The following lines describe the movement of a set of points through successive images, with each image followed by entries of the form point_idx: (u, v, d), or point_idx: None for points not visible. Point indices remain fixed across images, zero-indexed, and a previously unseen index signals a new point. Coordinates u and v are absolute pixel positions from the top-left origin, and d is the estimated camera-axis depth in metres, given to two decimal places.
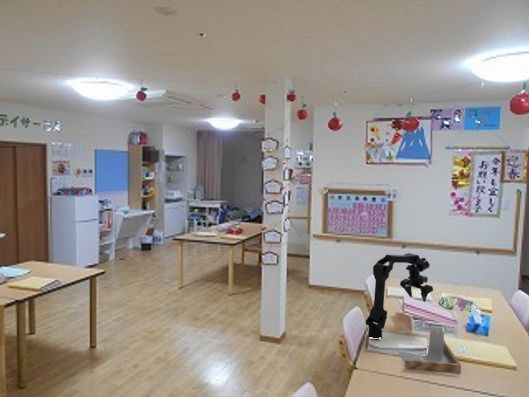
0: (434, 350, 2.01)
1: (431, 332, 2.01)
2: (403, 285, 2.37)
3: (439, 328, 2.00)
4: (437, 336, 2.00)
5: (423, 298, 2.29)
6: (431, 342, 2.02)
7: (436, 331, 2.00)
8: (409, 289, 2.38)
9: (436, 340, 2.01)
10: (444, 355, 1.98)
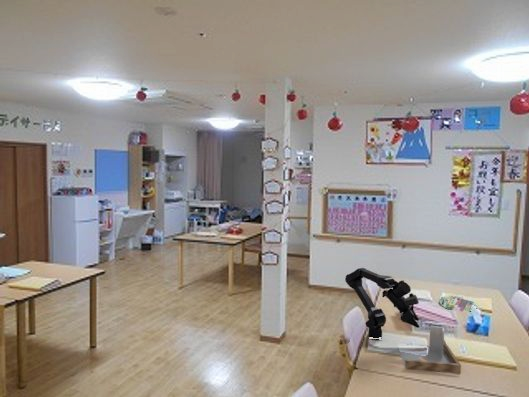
0: (434, 350, 2.01)
1: (431, 332, 2.01)
2: None
3: (439, 328, 2.00)
4: (437, 336, 2.00)
5: (411, 324, 2.00)
6: (431, 342, 2.02)
7: (436, 331, 2.00)
8: None
9: (436, 340, 2.01)
10: (444, 355, 1.98)
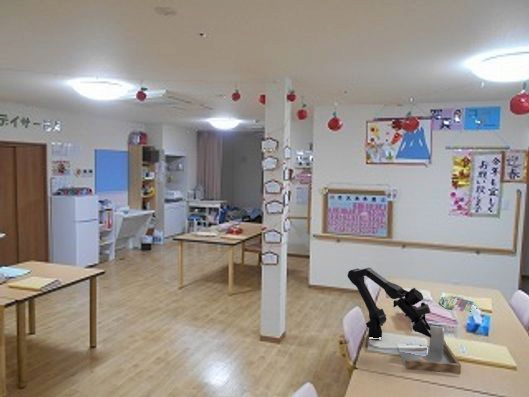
0: (434, 350, 2.01)
1: (431, 332, 2.01)
2: None
3: (439, 328, 2.00)
4: (437, 336, 2.00)
5: (423, 334, 1.97)
6: (431, 342, 2.02)
7: (436, 331, 2.00)
8: None
9: (436, 340, 2.01)
10: (444, 355, 1.98)
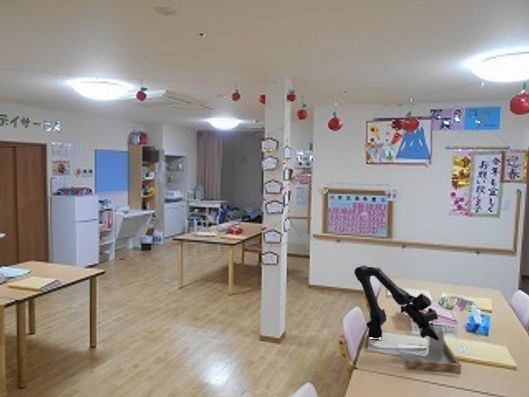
0: (434, 350, 2.01)
1: None
2: None
3: (439, 328, 2.00)
4: (437, 336, 2.00)
5: (431, 337, 2.00)
6: (431, 342, 2.02)
7: (436, 331, 2.01)
8: None
9: (436, 340, 2.01)
10: (444, 355, 1.98)
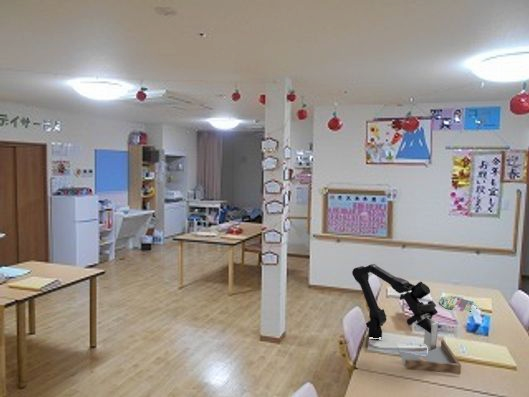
0: (428, 343, 1.95)
1: None
2: None
3: (434, 322, 1.92)
4: None
5: None
6: (426, 335, 1.96)
7: (431, 324, 1.94)
8: None
9: (430, 334, 1.94)
10: (444, 355, 1.98)
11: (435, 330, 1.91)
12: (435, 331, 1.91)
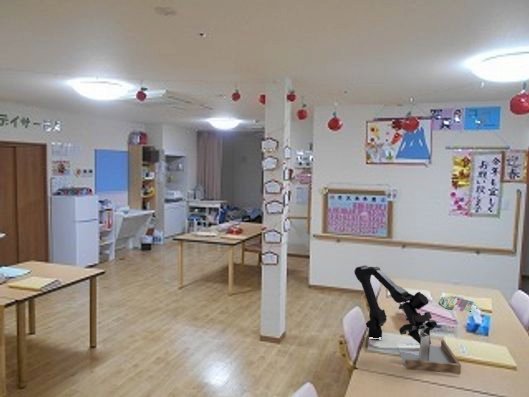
0: None
1: None
2: None
3: (426, 336, 1.91)
4: None
5: (416, 340, 1.93)
6: None
7: None
8: None
9: None
10: (444, 355, 1.98)
11: (426, 344, 1.89)
12: (426, 344, 1.89)
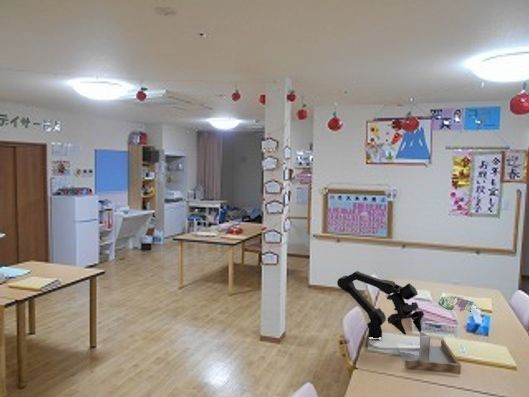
0: None
1: (420, 338, 1.94)
2: None
3: (426, 336, 1.91)
4: None
5: None
6: None
7: None
8: (416, 322, 2.04)
9: None
10: (444, 355, 1.98)
11: (426, 344, 1.89)
12: (427, 344, 1.89)
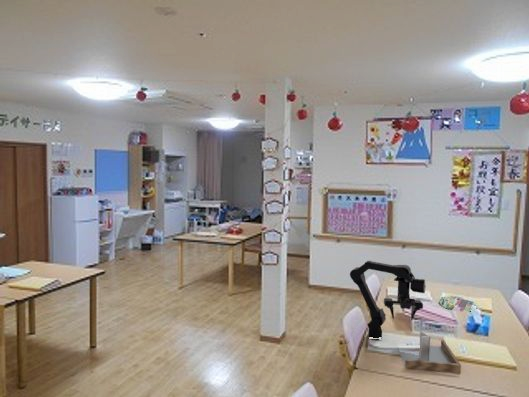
0: None
1: (420, 338, 1.94)
2: None
3: (426, 336, 1.91)
4: None
5: None
6: None
7: None
8: (412, 310, 2.10)
9: None
10: (444, 355, 1.98)
11: (426, 344, 1.89)
12: (427, 344, 1.89)
